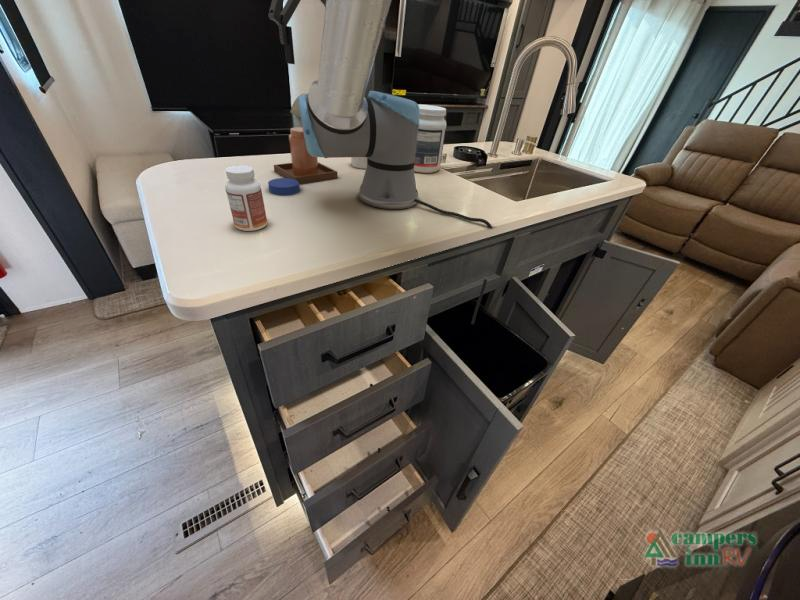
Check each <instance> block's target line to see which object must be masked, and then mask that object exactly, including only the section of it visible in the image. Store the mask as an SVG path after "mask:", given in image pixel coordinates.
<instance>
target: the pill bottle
mask: <svg viewBox="0 0 800 600" xmlns="http://www.w3.org/2000/svg"><path fill="white" fill-rule="evenodd" d="M225 174H226V177H227V179H228V180H227V181H226V183H225V184H224V185H225V186H224V187H225V188H224V189H225V192H226V196H227V200H228V204H229V208H230V212H231V216H232V220H233V224H234V226H235V228H236V229H238V230H239V231H240V230H241V231H244V232H245V231H246V232H252V231H258V230H262V229H263V228H265V227H266V226H267V225H268V218H267V212H266V207H265V202H264V197H263V191H262V186H261V184H260V181H258V180H257V179H255V175H256V174H255V171H254V168H253V167H251V166H249V165H232V166H229V167H226V169H225Z"/></svg>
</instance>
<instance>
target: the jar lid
mask: <svg viewBox="0 0 800 600" xmlns="http://www.w3.org/2000/svg"><path fill="white" fill-rule="evenodd" d="M267 186H268V191H269V192H270V193H271V194H274V195H278V196H290V195H294V194H298V193H299V192H300V191H301V189H300V184H299V182H298V181H297V180H294V179H290V178H284V177H279V178H273V179H270V180H268V183H267Z"/></svg>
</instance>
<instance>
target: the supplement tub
mask: <svg viewBox="0 0 800 600" xmlns="http://www.w3.org/2000/svg"><path fill="white" fill-rule="evenodd" d="M417 104H418V103H417ZM418 106H419V128H418V136H417V145H416V154H415V162H414V173H415V172H416V173H421V174H431V173H432V174H433V173H434V172H438V171H439V170H440V168H441V163H442V158H443V157H442V156H443V150H444V144H445V137H446V130H447V120H446V119H445V117H446V115H447V108H445V107H442V106H438V105H432V104H421V103H419V104H418Z"/></svg>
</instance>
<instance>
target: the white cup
mask: <svg viewBox="0 0 800 600" xmlns="http://www.w3.org/2000/svg"><path fill="white" fill-rule="evenodd" d="M350 158H351V161H350V162H351V166H352V167H353V168H356V169H362V170H363V169H365V170H366V168H367V157H350Z"/></svg>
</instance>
